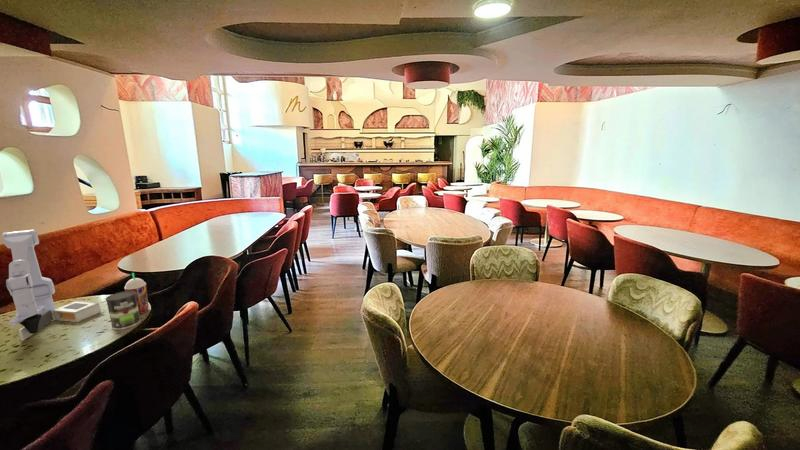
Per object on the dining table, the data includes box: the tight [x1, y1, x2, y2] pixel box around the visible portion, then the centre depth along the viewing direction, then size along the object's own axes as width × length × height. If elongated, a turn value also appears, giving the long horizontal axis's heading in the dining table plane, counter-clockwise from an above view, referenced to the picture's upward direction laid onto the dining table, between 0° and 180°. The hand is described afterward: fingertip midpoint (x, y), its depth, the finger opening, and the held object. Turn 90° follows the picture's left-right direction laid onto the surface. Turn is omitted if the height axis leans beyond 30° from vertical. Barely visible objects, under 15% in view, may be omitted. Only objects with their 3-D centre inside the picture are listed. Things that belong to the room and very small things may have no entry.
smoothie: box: [123, 272, 150, 314], centre depth 160 cm, size 8×8×20 cm
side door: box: [18, 310, 54, 341], centre depth 145 cm, size 1×19×5 cm, turn 19°
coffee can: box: [105, 290, 142, 331], centre depth 148 cm, size 10×10×14 cm
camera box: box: [52, 300, 102, 323], centre depth 158 cm, size 10×14×5 cm
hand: (33, 332), depth 140 cm, fingers closed
